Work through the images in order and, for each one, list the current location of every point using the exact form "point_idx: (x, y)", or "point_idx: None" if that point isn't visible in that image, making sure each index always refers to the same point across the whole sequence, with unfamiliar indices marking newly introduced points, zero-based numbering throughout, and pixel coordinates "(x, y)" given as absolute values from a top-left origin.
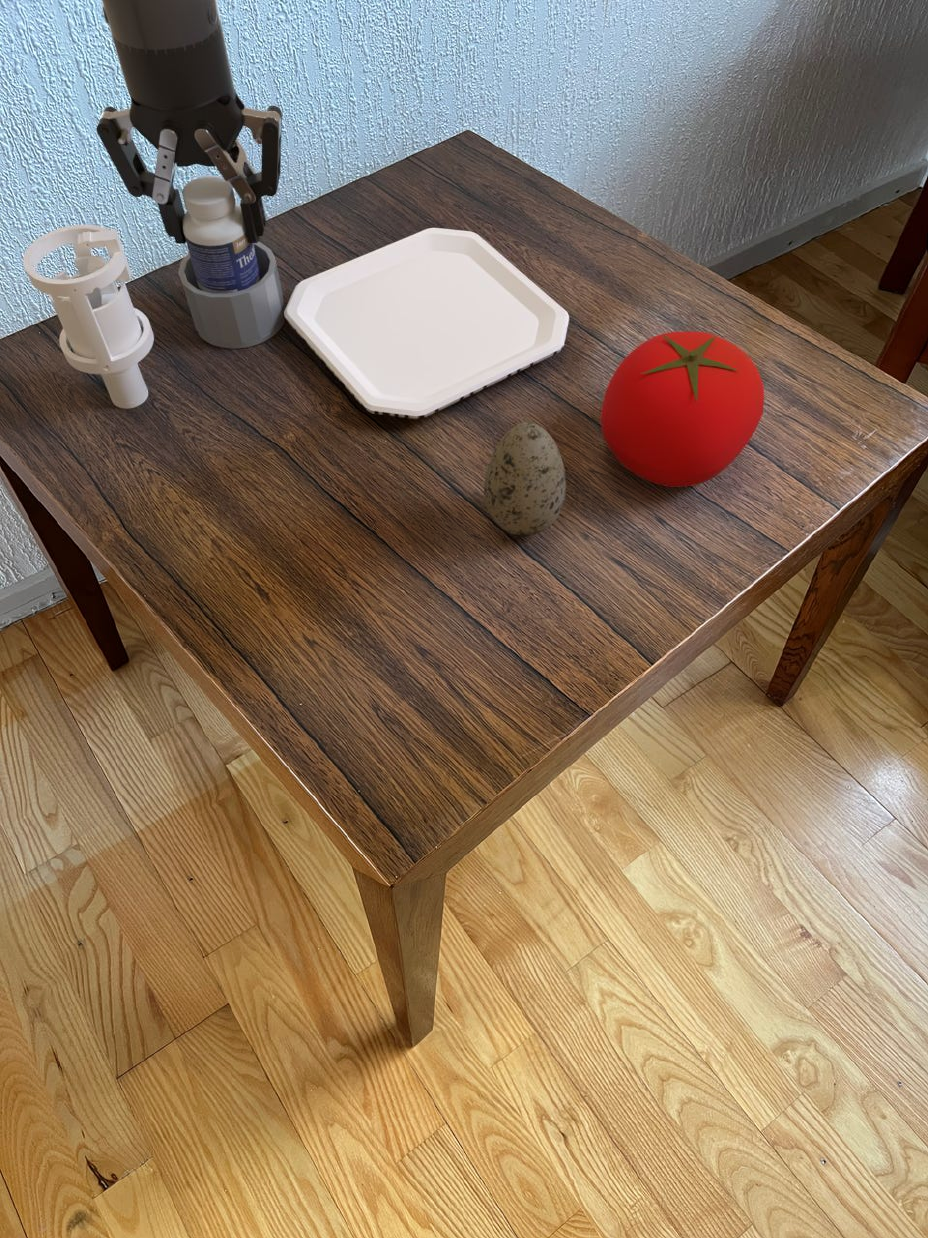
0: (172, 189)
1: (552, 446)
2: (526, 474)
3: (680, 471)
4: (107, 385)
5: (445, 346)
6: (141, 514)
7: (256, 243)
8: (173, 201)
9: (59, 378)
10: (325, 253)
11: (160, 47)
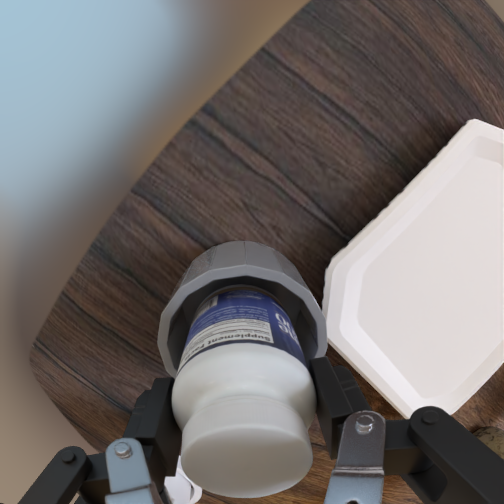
0: (155, 465)
1: None
2: None
3: None
4: None
5: (480, 325)
6: (235, 498)
7: (279, 279)
8: (169, 469)
9: (87, 403)
10: (330, 136)
11: None
